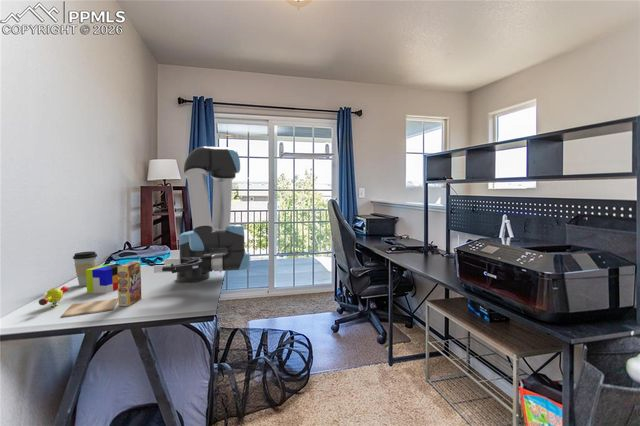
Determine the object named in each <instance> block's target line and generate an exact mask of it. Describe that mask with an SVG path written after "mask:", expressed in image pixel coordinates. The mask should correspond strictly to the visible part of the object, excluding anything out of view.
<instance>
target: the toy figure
mask: <svg viewBox="0 0 640 426" xmlns="http://www.w3.org/2000/svg"><path fill="white" fill-rule="evenodd" d="M68 291H69V287H67V286H62V287H60V288H50V289H49V290H47V291H46V292H44V293H43V294H42V295H43V297H44V298H43V297H42V298H40V299H39V301H38V305H40V306H45V305H47V304H48V303H51V304H52V305H51V306H50V308H56V307H57V306H58V302H60V301H61V300H62V299H63V298H64V297H63V296H64V293H67V292H68Z"/></svg>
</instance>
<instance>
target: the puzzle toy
mask: <svg viewBox="0 0 640 426" xmlns="http://www.w3.org/2000/svg"><path fill="white" fill-rule="evenodd" d="M120 265H121V264H102V265H98V266H96V267H94V268H90V269H86V283H87V286H86V292H87V293H91V294H109V293H112V292H115V291H118V266H120Z"/></svg>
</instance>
